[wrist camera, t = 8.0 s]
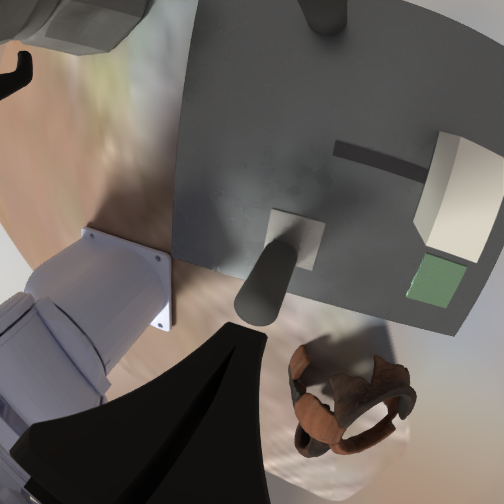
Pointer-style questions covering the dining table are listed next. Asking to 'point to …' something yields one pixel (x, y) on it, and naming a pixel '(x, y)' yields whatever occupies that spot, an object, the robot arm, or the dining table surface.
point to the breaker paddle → (460, 197)
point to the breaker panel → (333, 151)
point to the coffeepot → (63, 30)
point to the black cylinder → (325, 15)
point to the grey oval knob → (266, 285)
